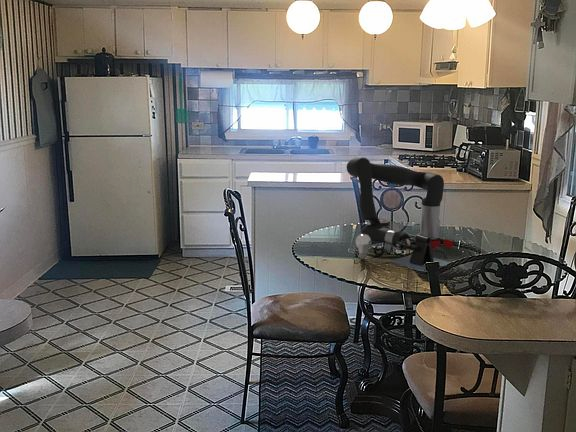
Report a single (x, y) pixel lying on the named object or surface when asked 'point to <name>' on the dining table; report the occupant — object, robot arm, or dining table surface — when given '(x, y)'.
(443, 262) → the tray
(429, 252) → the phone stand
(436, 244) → the glasses
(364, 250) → the light bulb
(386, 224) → the jar
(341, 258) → the dining table surface
